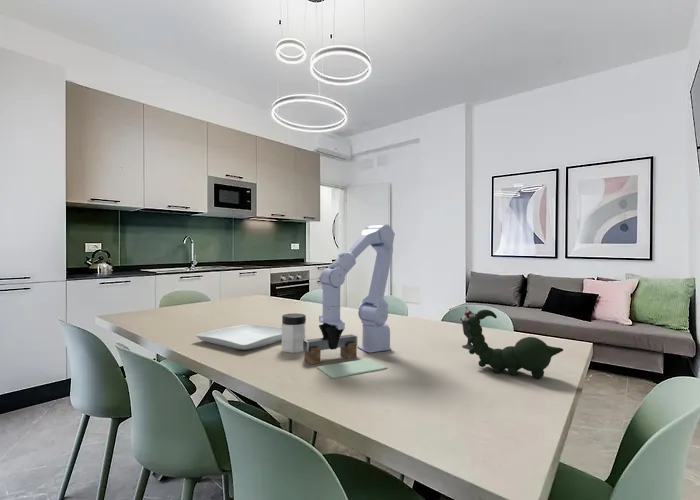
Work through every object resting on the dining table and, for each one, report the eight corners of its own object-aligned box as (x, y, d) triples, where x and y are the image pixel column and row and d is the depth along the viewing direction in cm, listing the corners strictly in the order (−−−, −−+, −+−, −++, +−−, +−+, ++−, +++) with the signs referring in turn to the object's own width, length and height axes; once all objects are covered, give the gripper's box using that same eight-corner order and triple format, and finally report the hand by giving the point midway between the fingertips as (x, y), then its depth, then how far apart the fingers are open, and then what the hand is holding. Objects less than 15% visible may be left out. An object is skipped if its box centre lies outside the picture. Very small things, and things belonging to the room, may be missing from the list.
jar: (286, 354, 122) (286, 318, 122) (277, 348, 129) (277, 314, 129) (310, 350, 127) (310, 316, 127) (300, 345, 134) (300, 312, 134)
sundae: (458, 348, 132) (459, 306, 132) (460, 344, 138) (461, 304, 138) (478, 350, 130) (478, 308, 130) (479, 346, 136) (479, 305, 136)
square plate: (298, 339, 144) (298, 329, 144) (244, 355, 121) (244, 344, 121) (250, 330, 159) (250, 321, 159) (193, 343, 136) (193, 333, 136)
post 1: (313, 358, 118) (313, 343, 118) (320, 362, 114) (320, 347, 114) (304, 359, 117) (304, 344, 117) (311, 364, 112) (311, 348, 112)
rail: (352, 343, 124) (352, 334, 124) (357, 345, 122) (357, 336, 122) (303, 349, 115) (303, 340, 115) (306, 352, 113) (307, 342, 113)
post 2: (348, 352, 125) (348, 339, 125) (356, 357, 120) (356, 342, 120) (340, 354, 123) (340, 340, 123) (348, 358, 118) (348, 343, 118)
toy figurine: (467, 376, 108) (565, 386, 95) (462, 311, 109) (558, 312, 96) (475, 367, 116) (566, 375, 103) (470, 307, 117) (560, 307, 104)
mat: (368, 359, 117) (368, 358, 117) (386, 368, 109) (386, 367, 109) (317, 368, 108) (317, 366, 108) (332, 378, 100) (332, 377, 100)
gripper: (311, 303, 123) (310, 343, 123) (330, 309, 110) (329, 354, 110) (329, 302, 126) (329, 341, 126) (350, 308, 114) (350, 352, 114)
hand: (330, 347), depth 118 cm, fingers closed on rail, 3 cm apart
